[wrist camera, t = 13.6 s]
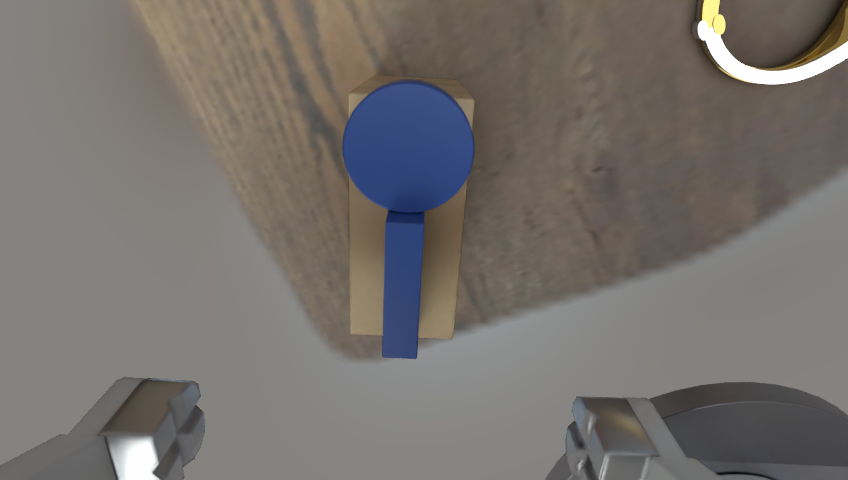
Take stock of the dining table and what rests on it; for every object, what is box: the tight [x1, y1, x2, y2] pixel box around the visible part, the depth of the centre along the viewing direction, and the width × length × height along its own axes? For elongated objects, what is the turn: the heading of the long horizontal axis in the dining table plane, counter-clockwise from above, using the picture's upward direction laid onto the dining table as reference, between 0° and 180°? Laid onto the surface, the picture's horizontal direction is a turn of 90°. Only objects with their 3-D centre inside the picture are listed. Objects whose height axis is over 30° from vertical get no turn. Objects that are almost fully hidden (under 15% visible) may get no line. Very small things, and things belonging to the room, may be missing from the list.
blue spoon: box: [343, 79, 474, 359], centre depth 15 cm, size 9×4×2 cm, turn 177°
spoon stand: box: [348, 75, 475, 339], centre depth 20 cm, size 9×4×8 cm, turn 177°
